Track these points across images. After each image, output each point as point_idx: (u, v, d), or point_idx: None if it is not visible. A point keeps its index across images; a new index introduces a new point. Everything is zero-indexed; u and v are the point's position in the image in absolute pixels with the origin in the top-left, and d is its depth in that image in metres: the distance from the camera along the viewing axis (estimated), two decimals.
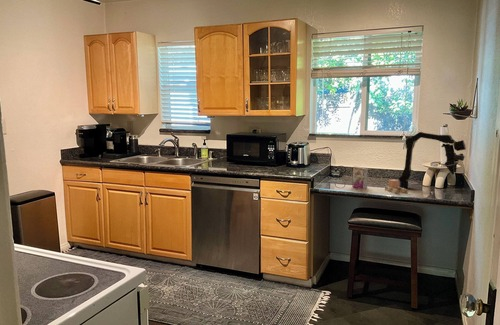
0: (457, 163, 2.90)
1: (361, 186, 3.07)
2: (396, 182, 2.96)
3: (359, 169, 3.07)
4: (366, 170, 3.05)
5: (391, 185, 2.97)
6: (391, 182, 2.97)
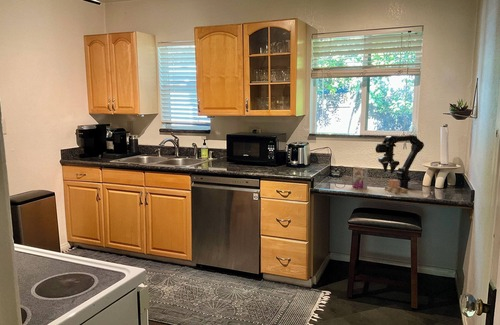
0: (389, 165, 2.98)
1: (361, 186, 3.07)
2: (396, 182, 2.96)
3: (359, 169, 3.07)
4: (366, 170, 3.05)
5: (391, 185, 2.97)
6: (391, 182, 2.97)
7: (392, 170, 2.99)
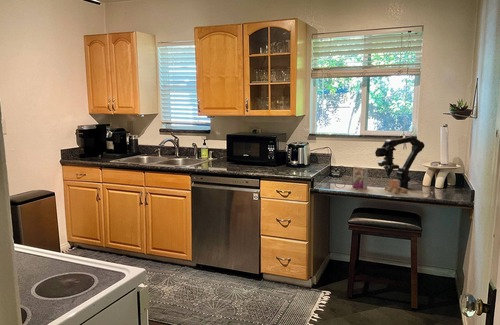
0: (386, 168, 3.03)
1: (361, 186, 3.07)
2: (396, 182, 2.96)
3: (359, 169, 3.07)
4: (366, 170, 3.05)
5: (391, 185, 2.97)
6: (391, 182, 2.97)
7: (389, 173, 3.03)
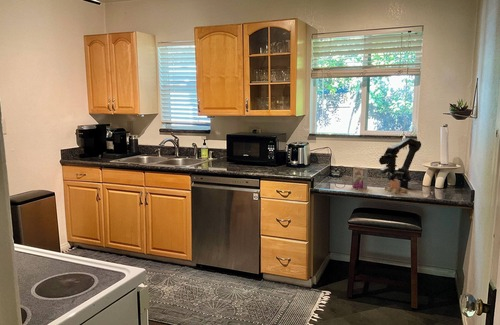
0: (388, 176, 3.00)
1: (361, 186, 3.07)
2: (397, 182, 2.95)
3: (359, 169, 3.07)
4: (366, 170, 3.05)
5: (392, 185, 2.96)
6: (392, 182, 2.96)
7: None
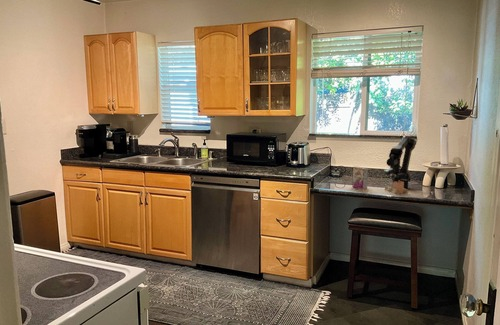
0: (392, 177, 2.95)
1: (361, 186, 3.07)
2: (401, 184, 2.90)
3: (359, 169, 3.07)
4: (366, 170, 3.05)
5: (396, 187, 2.91)
6: (396, 184, 2.90)
7: None
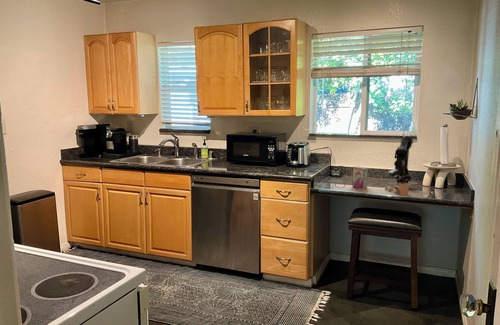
0: (397, 178, 2.89)
1: (361, 186, 3.07)
2: (406, 185, 2.84)
3: (359, 169, 3.07)
4: (366, 170, 3.05)
5: (401, 188, 2.85)
6: (401, 185, 2.85)
7: None
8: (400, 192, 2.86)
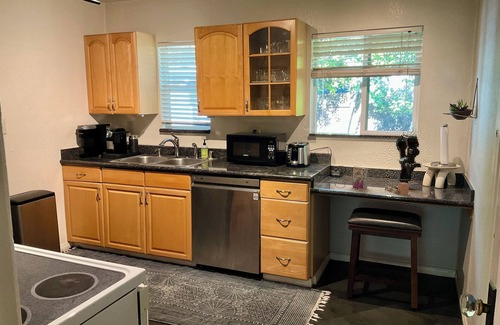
0: (407, 167, 2.93)
1: (361, 186, 3.07)
2: (406, 185, 2.84)
3: (359, 169, 3.07)
4: (366, 170, 3.05)
5: (401, 188, 2.85)
6: (401, 185, 2.85)
7: (410, 171, 2.93)
8: (400, 192, 2.86)
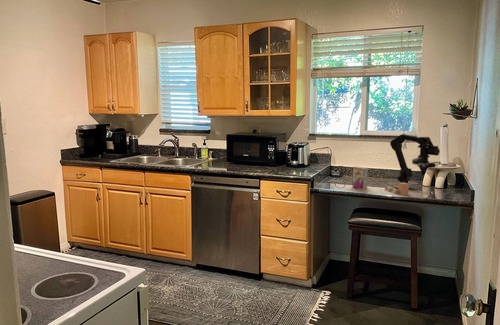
0: (421, 167, 2.93)
1: (361, 186, 3.07)
2: (406, 185, 2.84)
3: (359, 169, 3.07)
4: (366, 170, 3.05)
5: (401, 188, 2.85)
6: (401, 185, 2.85)
7: (424, 171, 2.93)
8: (400, 192, 2.86)
